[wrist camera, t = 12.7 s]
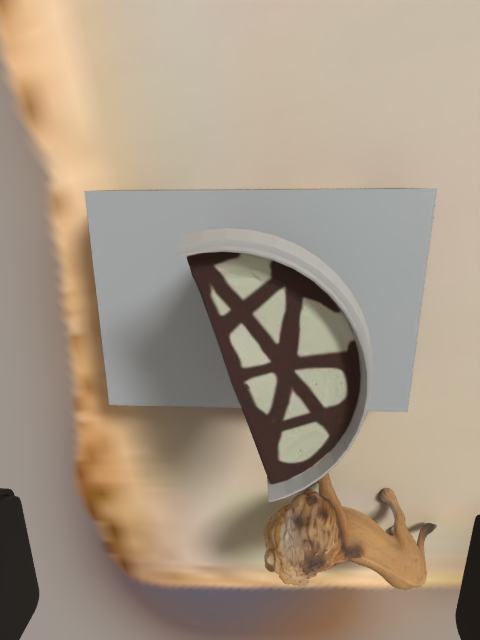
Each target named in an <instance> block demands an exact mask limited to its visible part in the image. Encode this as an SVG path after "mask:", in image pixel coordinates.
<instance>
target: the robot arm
mask: <svg viewBox="0 0 480 640" xmlns="http://www.w3.org/2000/svg"><path fill="white" fill-rule="evenodd" d="M38 600H39V587H38V582H37V578H36V573H35V568H34V563H33V558H32V553H31V548H30V544H29V539H28V534H27V529H26V524H25V519H24V514H23V509H22V504H21V501H20V498H19V497H16V496H14V493H13V491H12V490H11V489H2V488H0V640H19V639H20V637H21V635H22V634H23V632H24V630H25V628H26V626H27V624H28V623H29V621H30V619H31V617H32V615H33V613H34V612H35V609H36V607H37V604H38ZM456 624H457V629H458V633H459V635H460V638H461V640H480V515H477V516H476V518H475V522H474V527H473V531H472V536H471V541H470V546H469V551H468V556H467V561H466V565H465V570H464V575H463V580H462V585H461V590H460V595H459V599H458V604H457V609H456Z"/></svg>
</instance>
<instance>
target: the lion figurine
mask: <svg viewBox="0 0 480 640" xmlns="http://www.w3.org/2000/svg"><path fill="white" fill-rule="evenodd" d="M318 483H319V492H318V491H315V490H307V491H306V492H305V493H304V495H299V496H296V497H294V500H293V501H292V504H290V505H287V506H285V507H283V508H282V509H281V510H279V511H278V512H277V513H275V514H274V515H273V517H272V518H271V519H270V520H269V522H268V524H267V525H266V528H265V530H264V536H265V541H266V550H267V551H266V553H265V567H266V568H267V570H268V571H270V572H276V573H278V574H279V577H280V578H281V579H282V580H283V583H285V584H293V585H298V586H307V585H308V582H309V579H310V578H312V577H315V576H316V574H317V573H318V572H321V571H325V570H327V569H330V568H331V567H333V566H335V565H336V564H337V563H343V562H345V561H349V560H350V561H352V562H355V563H357V564H359V565H362V566H366V567H368V568H370V569H372V570H374V571H376V572H377V573H378V574H380V575H381V576H382V577H383V578H384V579H385V580H386V581H387V582H388V583H389V584H390V585H392V586H393V587H395V588H398V589H404V590H407V589H411V588H414V587H416V588H417V587H420V586H422V585H423V584H424V583H425V581H426V575H427V573H426V563H425V556H424V541H425V538H426V536H427V535H428V534H429V533H431V532H432V531H433V530H434V529H435V528H436V525H435V524H431V523H427V524H425V525H424V526H423V527H422V529H421V530H420V533H419V536H418V541H417V544H416V542H415V540H414V539H413V537H412V535H411V534H410V532H409V531H408V528H407V526H406V524H405V516H404V514H403V512H402V510H401V508H400V506H399V504H398V502H397V499H396V496H395V494H394V492H393V491H392V490H391V489H387V488H386V489H383V490H382V491H381V493H380V499H381V500H382V501H383V502H385V503H386V504H388V505H389V506H390V508H391V510H392V512H393V514H394V518H395V522H394V527H392V528H391V529H390V530H391V531H390V534H391V535H389V534H387V533H386V532H385V531H384V530H383V529H382V528H381V527H380V526H379V525H378V524H377V523H376V522H374V521H373V520H372V519H371V518H370V517H368V516H367V515H365V514H363V513H361V512H359V511H357V510H354V509H351V508H347V507H342V506H341V503H340V501H339V499H338V498H337V496H336V494H335V491H334V489H333V486H332V484H331V481H330V477H329V474H328V473H327V474H326V475H325V476H324V477H322V478H321V479H320V480H318Z"/></svg>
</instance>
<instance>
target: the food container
mask: <svg viewBox="0 0 480 640" xmlns="http://www.w3.org/2000/svg"><path fill="white" fill-rule="evenodd" d="M177 247H178V250H179V254H178V255H177V256H176V257H177V258H180V257H185V256H187V261H188V264H189V266H190V270H191V274H192V277H193V278H194V280H195V282H196V284H197V287H198V289H199V292H200V294H201V297H202V300H203V303H204V305H205V308H206V311H207V314H208V317H209V319H210V322H211V325H212V328H213V331H214V333H215V336H216V339H217V342H218V345H219V348H220V351H221V354H222V357H223V360H224V363H225V366H226V369H227V372H228V375H229V378H230V381H231V384H232V386H233V389H234V391H235V393H236V396H237V398H238V401H239V403H240V405H241V408H242V410H243V413H244V416H245V418H246V421H247V423H248V426H249V428H250V431H251V434H252V436H253V439H254V442H255V444H256V447H257V450H258V453H259V455H260V458H261V461H262V463H263V466H264V469H265V471H266V474H267V481H268V501H269V503H270V502H273V501H277V500H280V499H283V498H286V497H289V496H291V495H293V494H295V493H297V492H300V491H302V490H304V489H306V488H307V487H309V486H310V485H312V484H313V483H315V482H317V481H318V480H320V479H321V478H322V477H324V476H325V475H326V474H327V473H328V472H329V471H330V470H331V469H333V468H334V467H335V466H336V465H337V464H338V462H339V461H340V460H341V459H342V458H343V456H344V455H345V454H346V453H347V452H348V450H349V449H350V447H351V445H352V444H353V442H354V440H355V438H356V437H357V435H358V433H359V431H360V428H361V427H362V424H363V422H364V419H365V416H366V414H367V411H368V408H369V404H370V399H371V394H372V389H373V357H372V347H371V341H370V335H369V330H368V327H367V324H366V321H365V319H364V316H363V313H362V310H361V308H360V307H359V305H358V303H357V301H356V300H355V298H354V296H353V294H352V292H351V291H350V289H349V288H348V287H347V286H346V285H345V283H344V282H343V281H342V280H341V278H340V277H339V276H338V275H337V274H336V272H334V271H333V270H332V269H331V268H330V267H329V266H328V265H326V264H325V263H324V262H323V261H322V260H321V259H319V258H318V257H317V256H315V255H314V254H312V253H310V252H309V251H307V250H305V249H304V248H302V247H301V246H299V245H297V244H295V243H292V242H290V241H287V240H285V239H283V238H280V237H278V236H275V235H271V234H267V233H263V232H258V231H254V230H246V229H232V228H223V229H211V230H202V231H198V232H194V233H190V234H186V235H182V236H181V239H180V241H179V244H178V246H177Z"/></svg>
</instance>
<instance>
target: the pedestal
mask: <svg viewBox="0 0 480 640" xmlns="http://www.w3.org/2000/svg"><path fill="white" fill-rule="evenodd" d="M436 192H437V189H422V188H386V189H235V190H104V191H85V199H86V208H87V217H88V225H89V234H90V243H91V251H92V260H93V269H94V277H95V286H96V294H97V303H98V312H99V320H100V329H101V338H102V346H103V355H104V364H105V372H106V381H107V390H108V398H109V405H129V406H172V407H215V408H241V405H240V403H239V401H238V398H237V396H236V393H235V391H234V389H233V386H232V384H231V381H230V378H229V375H228V372H227V369H226V366H225V363H224V360H223V357H222V354H221V351H220V348H219V345H218V342H217V339H216V336H215V333H214V331H213V328H212V325H211V322H210V319H209V317H208V314H207V311H206V308H205V305H204V303H203V300H202V297H201V294H200V292H199V289H198V287H197V284H196V282H195V280H194V278H193V277H192V274H191V270H190V266H189V264H188V261H187V256H185V257H180V258H177V257H176V256H177V255H178V254H179V250H178V247H177V246H178V244H179V241H180V239H181V236H182V235H186V234H190V233H194V232H198V231H202V230H211V229H223V228H232V229H246V230H254V231H258V232H263V233H267V234H271V235H275V236H278V237H280V238H283V239H285V240H287V241H290V242H292V243H295V244H297V245H299V246H301V247H302V248H304V249H305V250H307V251H309V252H310V253H312V254H314V255H315V256H317V257H318V258H319V259H321V260H322V261H323V262H324V263H325V264H326V265H328V266H329V267H330V268H331V269H332V270H333V271H334V272H336V274H337V275H338V276H339V277H340V278H341V280H342V281H343V282H344V283H345V285H346V286H347V287H348V288H349V289H350V291H351V292H352V294H353V296H354V298H355V300H356V301H357V303H358V305H359V307H360V308H361V310H362V313H363V316H364V319H365V321H366V324H367V327H368V330H369V335H370V341H371V347H372V357H373V389H372V394H371V399H370V404H369V408H368V411H387V412H408V405H409V397H410V389H411V382H412V374H413V367H414V359H415V351H416V344H417V336H418V329H419V321H420V313H421V306H422V298H423V291H424V283H425V275H426V268H427V260H428V253H429V245H430V237H431V230H432V222H433V215H434V207H435V200H436Z"/></svg>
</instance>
